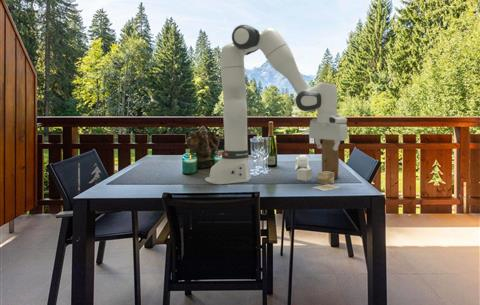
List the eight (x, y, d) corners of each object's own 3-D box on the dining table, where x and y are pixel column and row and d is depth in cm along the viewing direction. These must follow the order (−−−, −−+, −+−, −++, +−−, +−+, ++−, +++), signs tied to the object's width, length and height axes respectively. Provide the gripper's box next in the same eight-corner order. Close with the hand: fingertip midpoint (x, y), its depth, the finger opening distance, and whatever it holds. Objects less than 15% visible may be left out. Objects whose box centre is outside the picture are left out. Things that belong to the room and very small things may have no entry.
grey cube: (306, 181, 177) (306, 170, 176) (296, 179, 180) (297, 169, 179) (311, 179, 180) (311, 169, 180) (302, 178, 184) (302, 167, 183)
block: (338, 179, 178) (339, 137, 176) (322, 179, 179) (323, 137, 176) (335, 175, 189) (336, 135, 186) (320, 175, 190) (321, 135, 187)
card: (324, 191, 156) (324, 190, 156) (312, 188, 162) (312, 187, 162) (340, 187, 162) (340, 186, 162) (328, 184, 167) (328, 184, 167)
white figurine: (293, 172, 213) (295, 167, 198) (293, 158, 215) (294, 151, 200) (309, 172, 212) (311, 167, 197) (308, 158, 214) (311, 151, 200)
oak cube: (326, 185, 168) (326, 174, 167) (317, 183, 172) (318, 172, 171) (333, 183, 171) (334, 172, 170) (325, 181, 175) (325, 171, 174)
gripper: (305, 118, 174) (305, 148, 176) (340, 119, 157) (339, 152, 159) (315, 117, 178) (315, 146, 180) (350, 118, 161) (349, 150, 163)
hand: (327, 149), depth 169 cm, fingers open, 8 cm apart
